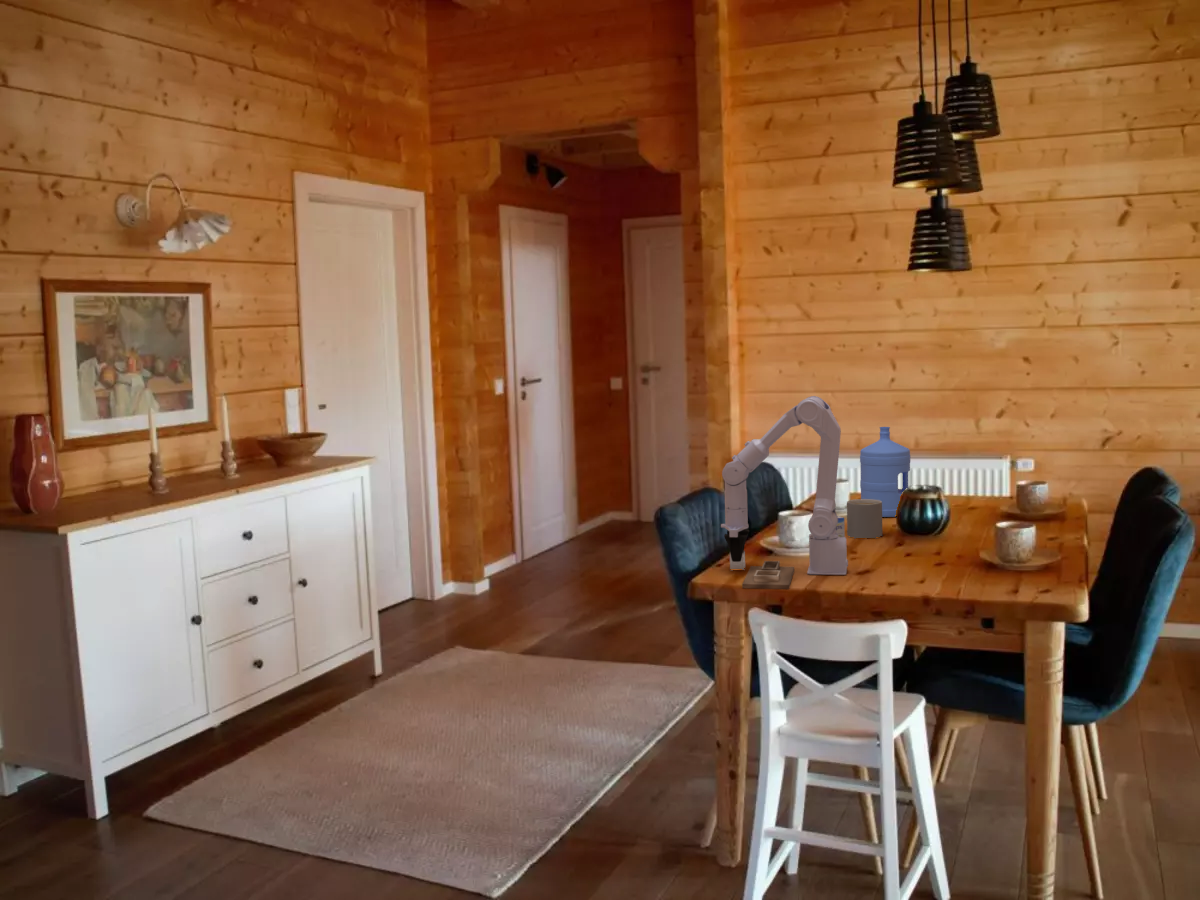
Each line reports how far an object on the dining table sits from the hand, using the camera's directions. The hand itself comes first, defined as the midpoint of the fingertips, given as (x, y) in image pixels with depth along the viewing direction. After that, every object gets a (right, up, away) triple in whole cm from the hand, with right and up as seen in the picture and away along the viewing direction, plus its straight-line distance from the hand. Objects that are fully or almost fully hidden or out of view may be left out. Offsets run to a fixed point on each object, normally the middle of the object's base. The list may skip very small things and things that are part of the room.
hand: (737, 559), depth 294 cm
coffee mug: (+42, +3, +39) cm, 58 cm away
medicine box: (+28, +1, +22) cm, 36 cm away
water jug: (+56, +7, +72) cm, 91 cm away
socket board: (+6, -4, -12) cm, 14 cm away
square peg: (0, -2, 0) cm, 2 cm away
